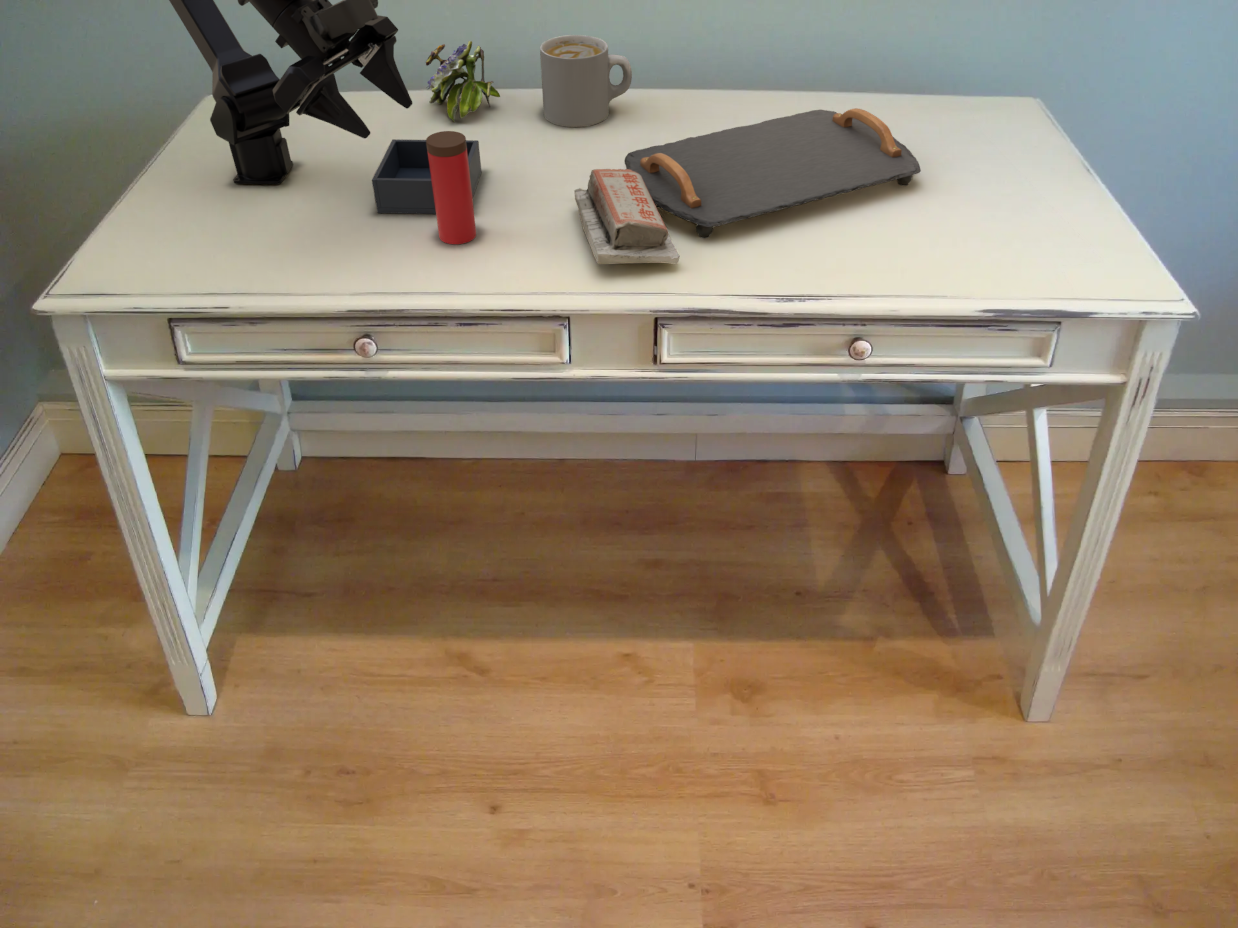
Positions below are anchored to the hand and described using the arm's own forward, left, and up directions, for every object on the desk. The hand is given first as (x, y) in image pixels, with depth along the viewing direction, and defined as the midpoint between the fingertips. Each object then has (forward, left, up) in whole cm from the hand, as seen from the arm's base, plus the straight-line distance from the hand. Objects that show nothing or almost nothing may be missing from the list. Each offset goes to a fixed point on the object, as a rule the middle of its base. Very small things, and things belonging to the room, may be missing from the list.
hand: (389, 120), depth 121 cm
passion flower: (+2, +37, -14) cm, 40 cm away
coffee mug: (+21, +35, -14) cm, 43 cm away
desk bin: (+2, +9, -13) cm, 16 cm away
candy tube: (+7, -3, -13) cm, 15 cm away
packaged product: (+28, -3, -13) cm, 31 cm away
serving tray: (+47, +14, -14) cm, 51 cm away
